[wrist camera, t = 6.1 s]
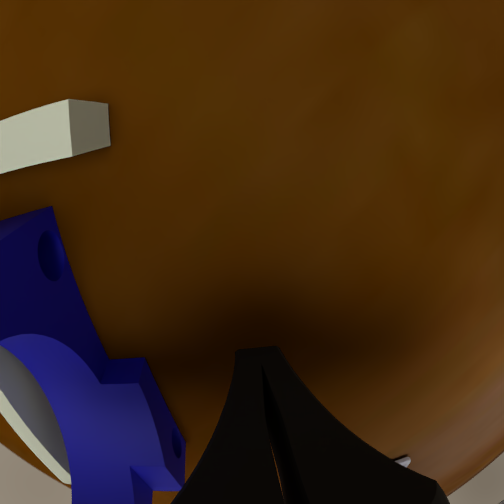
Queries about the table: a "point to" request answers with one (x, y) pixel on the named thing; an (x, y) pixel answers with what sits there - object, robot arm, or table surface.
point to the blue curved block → (84, 374)
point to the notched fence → (15, 157)
